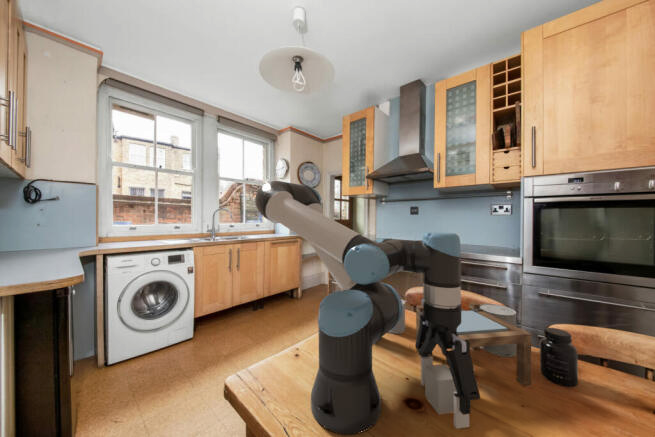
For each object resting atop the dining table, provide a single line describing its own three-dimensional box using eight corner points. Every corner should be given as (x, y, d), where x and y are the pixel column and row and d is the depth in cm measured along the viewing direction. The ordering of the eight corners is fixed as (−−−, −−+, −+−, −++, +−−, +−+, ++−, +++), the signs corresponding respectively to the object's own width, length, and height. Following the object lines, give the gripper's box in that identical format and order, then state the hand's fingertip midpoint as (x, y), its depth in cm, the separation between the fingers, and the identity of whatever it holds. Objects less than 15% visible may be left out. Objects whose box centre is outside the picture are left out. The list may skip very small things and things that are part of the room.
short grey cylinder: (517, 361, 68) (516, 317, 68) (477, 350, 73) (477, 310, 73) (516, 346, 75) (515, 307, 75) (480, 337, 81) (480, 301, 81)
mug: (398, 336, 82) (398, 307, 82) (374, 327, 88) (374, 301, 89) (411, 325, 90) (411, 299, 90) (388, 318, 96) (388, 294, 97)
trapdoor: (457, 342, 59) (456, 326, 59) (415, 311, 79) (415, 299, 79) (508, 338, 61) (508, 322, 61) (454, 308, 81) (454, 297, 81)
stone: (438, 414, 49) (438, 380, 49) (425, 396, 54) (425, 366, 54) (460, 411, 50) (460, 378, 50) (445, 394, 55) (445, 364, 55)
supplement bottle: (541, 367, 65) (540, 323, 65) (577, 379, 60) (577, 331, 60) (539, 379, 60) (538, 331, 60) (578, 393, 55) (578, 341, 55)
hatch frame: (456, 394, 55) (456, 333, 55) (416, 351, 72) (416, 305, 73) (531, 385, 57) (531, 327, 58) (475, 346, 75) (474, 302, 75)
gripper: (504, 325, 41) (505, 452, 41) (427, 287, 64) (427, 367, 64) (464, 328, 40) (465, 459, 40) (401, 288, 63) (401, 370, 63)
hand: (442, 402), depth 52 cm, fingers open, 11 cm apart
